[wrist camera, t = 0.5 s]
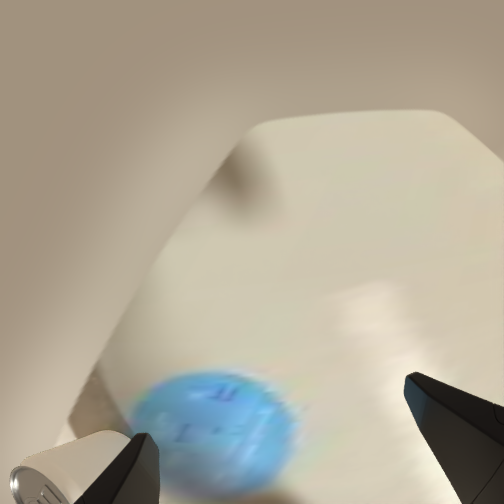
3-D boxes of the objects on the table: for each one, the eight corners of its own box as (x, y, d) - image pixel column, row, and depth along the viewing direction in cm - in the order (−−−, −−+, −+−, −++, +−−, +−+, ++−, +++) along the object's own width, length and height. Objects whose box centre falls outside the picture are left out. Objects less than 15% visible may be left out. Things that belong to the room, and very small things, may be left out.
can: (77, 451, 21) (-5, 482, 10) (112, 415, 23) (25, 442, 11) (124, 499, 20) (58, 555, 8) (164, 467, 21) (101, 528, 10)
